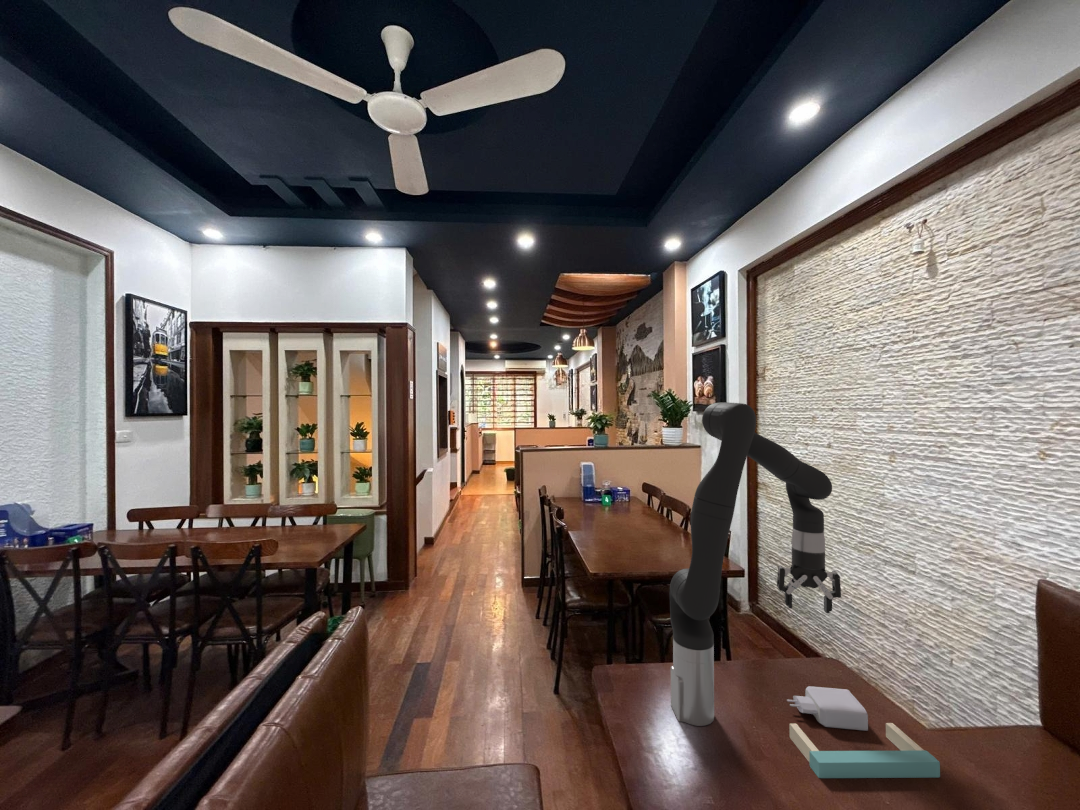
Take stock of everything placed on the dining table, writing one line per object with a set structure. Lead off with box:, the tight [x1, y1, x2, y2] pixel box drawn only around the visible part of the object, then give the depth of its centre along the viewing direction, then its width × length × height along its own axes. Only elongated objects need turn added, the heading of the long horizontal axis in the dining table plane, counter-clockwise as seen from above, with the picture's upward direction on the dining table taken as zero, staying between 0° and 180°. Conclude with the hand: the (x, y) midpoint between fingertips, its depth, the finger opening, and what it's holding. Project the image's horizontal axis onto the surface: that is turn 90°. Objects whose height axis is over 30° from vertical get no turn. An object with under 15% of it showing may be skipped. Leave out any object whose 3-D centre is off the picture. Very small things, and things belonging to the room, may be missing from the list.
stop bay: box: [788, 722, 941, 779], centre depth 93 cm, size 24×11×3 cm, turn 90°
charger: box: [786, 685, 869, 732], centre depth 105 cm, size 5×9×15 cm
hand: (808, 609), depth 116 cm, fingers open, 8 cm apart
